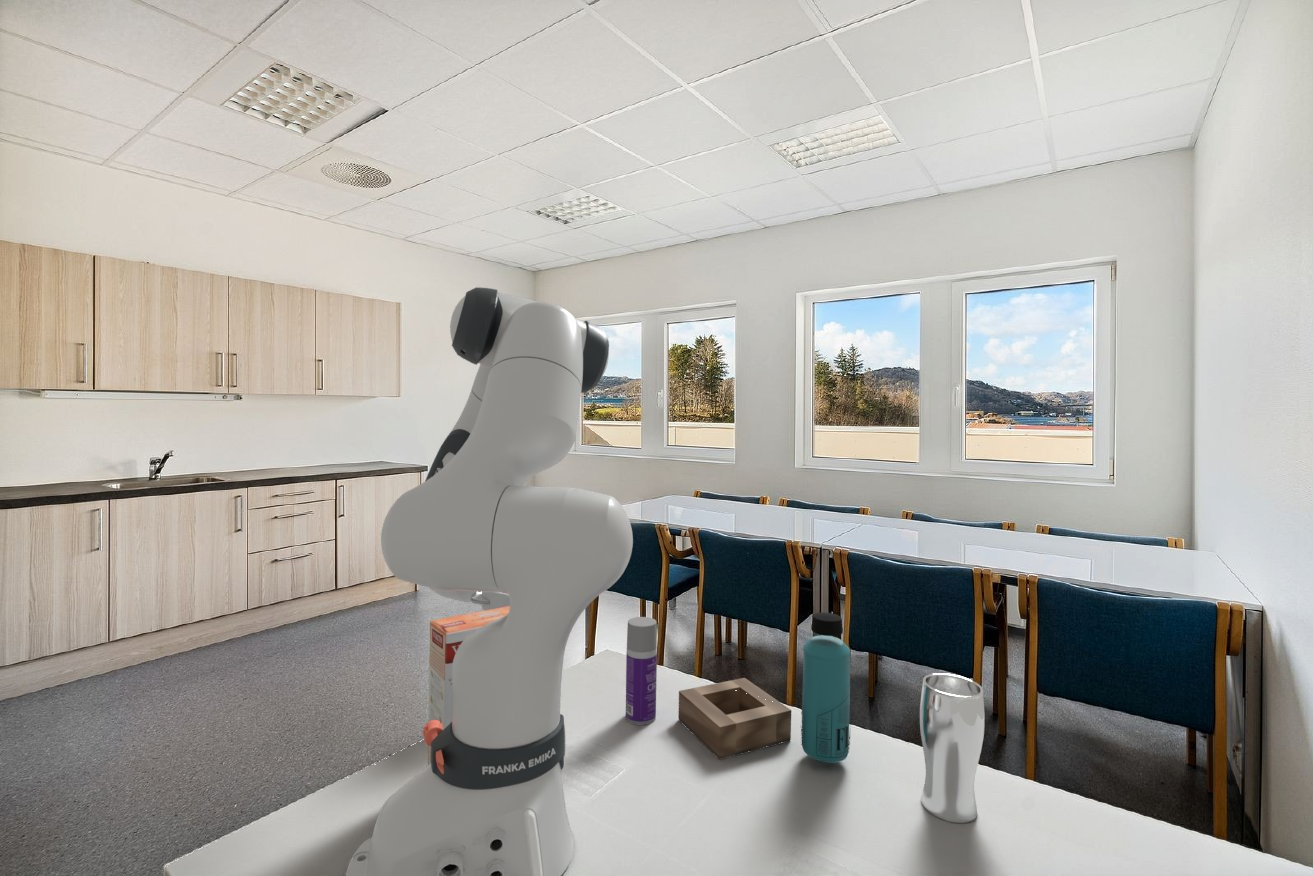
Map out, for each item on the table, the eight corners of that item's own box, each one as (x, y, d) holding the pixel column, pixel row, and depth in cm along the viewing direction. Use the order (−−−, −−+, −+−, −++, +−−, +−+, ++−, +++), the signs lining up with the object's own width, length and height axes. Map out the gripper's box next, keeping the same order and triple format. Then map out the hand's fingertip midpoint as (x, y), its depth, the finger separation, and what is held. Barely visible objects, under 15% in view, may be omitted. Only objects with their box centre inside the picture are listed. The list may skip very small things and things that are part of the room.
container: (652, 726, 92) (654, 627, 91) (622, 723, 93) (623, 625, 92) (658, 712, 96) (660, 617, 96) (629, 708, 97) (631, 615, 97)
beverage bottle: (839, 780, 79) (843, 627, 78) (791, 762, 83) (794, 616, 82) (856, 758, 84) (860, 614, 83) (810, 742, 88) (814, 604, 87)
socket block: (719, 759, 83) (720, 727, 83) (678, 719, 94) (678, 691, 94) (790, 741, 88) (791, 710, 88) (744, 705, 99) (744, 677, 99)
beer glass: (920, 819, 71) (924, 692, 71) (914, 785, 78) (917, 669, 78) (987, 831, 69) (991, 701, 69) (974, 795, 76) (978, 676, 76)
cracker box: (444, 808, 72) (444, 632, 71) (426, 784, 77) (426, 619, 76) (549, 767, 81) (550, 610, 80) (527, 747, 86) (529, 599, 85)
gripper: (463, 579, 95) (537, 592, 90) (540, 551, 114) (605, 560, 108) (463, 619, 96) (537, 634, 90) (540, 585, 114) (605, 595, 109)
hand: (575, 593), depth 99 cm, fingers open, 8 cm apart
